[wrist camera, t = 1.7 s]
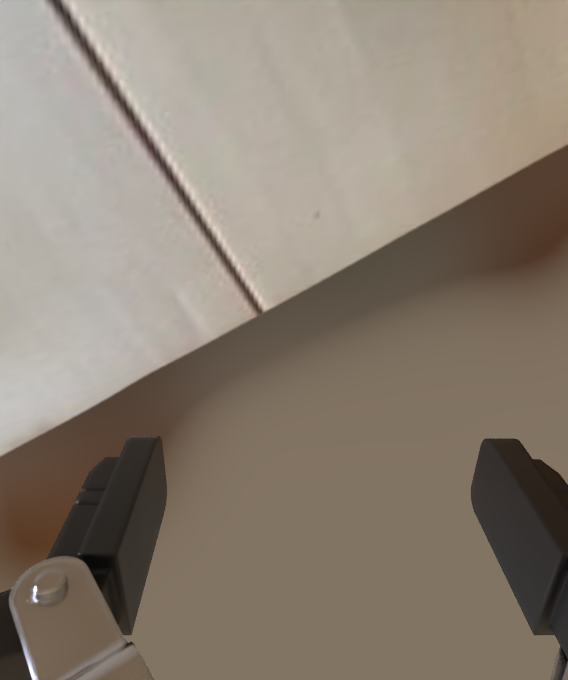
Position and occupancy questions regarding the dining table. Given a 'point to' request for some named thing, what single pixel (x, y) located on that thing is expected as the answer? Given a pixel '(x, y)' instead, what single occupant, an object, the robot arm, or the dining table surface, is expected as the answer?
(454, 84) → the dining table surface
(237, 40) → the dining table surface
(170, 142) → the dining table surface
